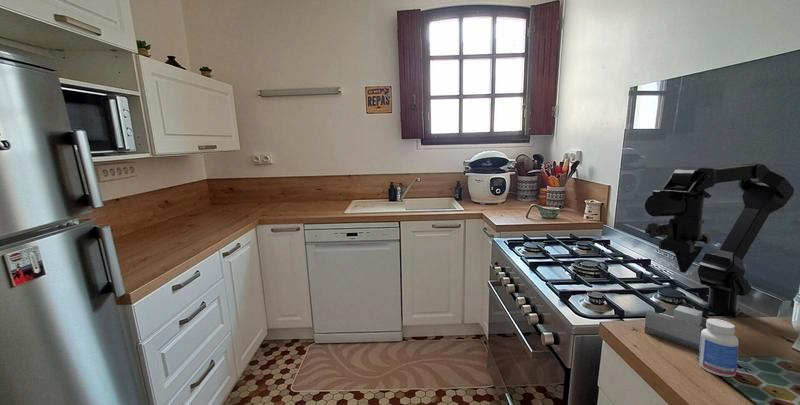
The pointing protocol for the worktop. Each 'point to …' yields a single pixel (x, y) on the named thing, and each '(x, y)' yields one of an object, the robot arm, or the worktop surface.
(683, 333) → the gauge base
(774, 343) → the worktop surface
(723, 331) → the pill bottle
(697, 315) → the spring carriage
